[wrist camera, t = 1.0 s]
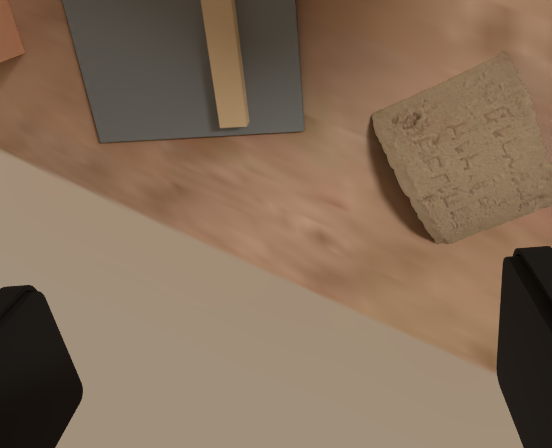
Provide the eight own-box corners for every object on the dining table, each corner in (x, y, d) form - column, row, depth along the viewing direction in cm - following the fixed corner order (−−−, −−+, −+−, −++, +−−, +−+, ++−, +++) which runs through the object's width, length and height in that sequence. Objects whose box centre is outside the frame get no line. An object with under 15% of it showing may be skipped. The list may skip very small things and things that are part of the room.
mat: (29, -134, 32) (15, -137, 31) (283, -169, 30) (280, -174, 29) (102, 140, 41) (94, 148, 39) (304, 129, 38) (303, 136, 37)
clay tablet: (565, 202, 40) (579, 219, 37) (440, 254, 43) (445, 272, 41) (497, 32, 35) (508, 39, 32) (361, 106, 38) (362, 116, 36)
